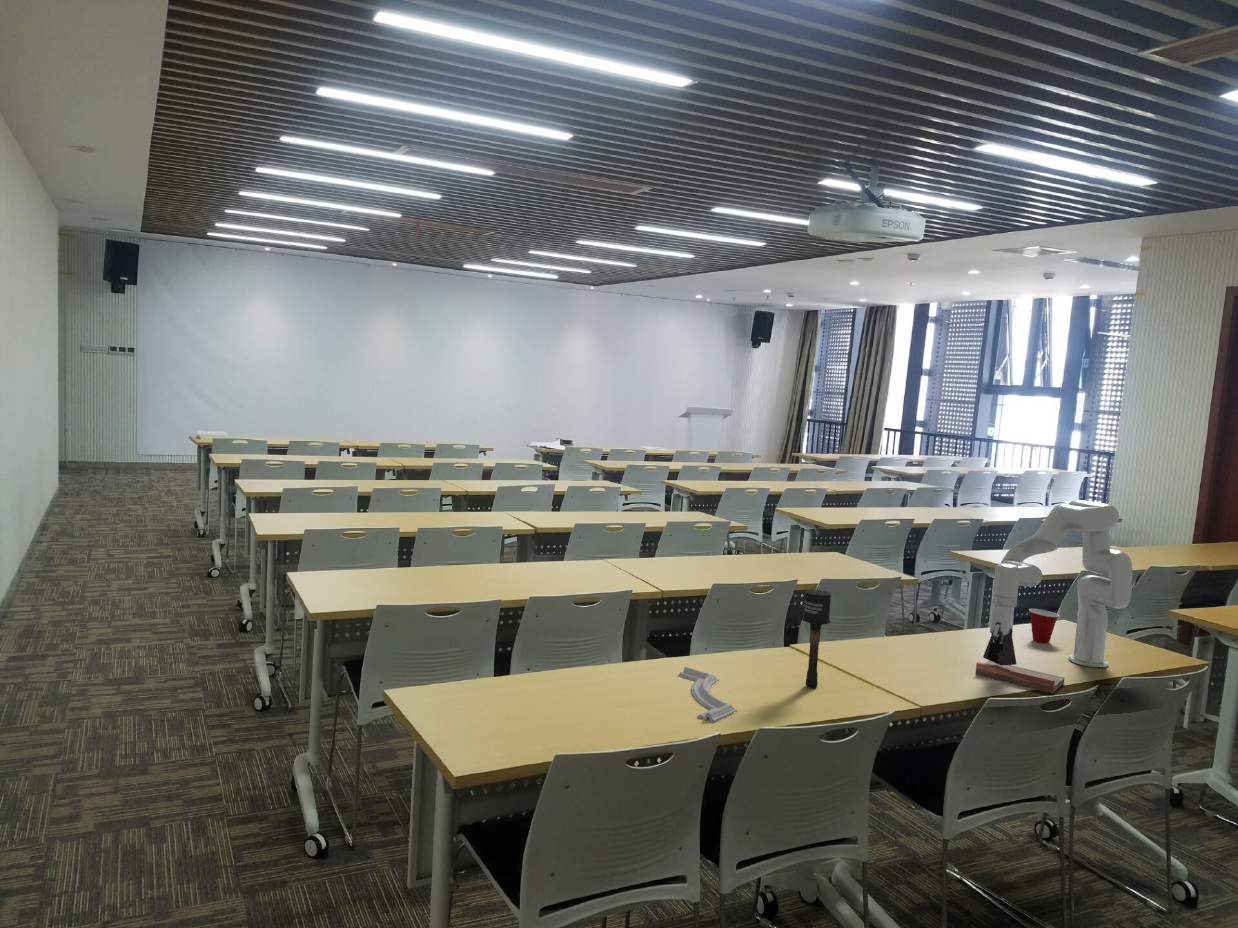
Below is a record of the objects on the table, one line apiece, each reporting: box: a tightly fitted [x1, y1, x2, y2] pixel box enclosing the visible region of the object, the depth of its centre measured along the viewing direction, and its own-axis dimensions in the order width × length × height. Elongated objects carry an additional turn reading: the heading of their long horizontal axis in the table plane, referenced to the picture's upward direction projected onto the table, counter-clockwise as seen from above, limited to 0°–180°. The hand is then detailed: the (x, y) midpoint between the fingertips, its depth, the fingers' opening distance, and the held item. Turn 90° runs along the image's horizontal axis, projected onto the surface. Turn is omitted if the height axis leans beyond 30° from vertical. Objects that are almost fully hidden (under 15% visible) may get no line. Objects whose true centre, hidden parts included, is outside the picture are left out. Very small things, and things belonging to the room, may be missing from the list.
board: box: [975, 660, 1065, 694], centre depth 288 cm, size 14×24×4 cm, turn 50°
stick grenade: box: [801, 589, 832, 689], centre depth 268 cm, size 8×9×30 cm
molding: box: [678, 666, 738, 724], centre depth 257 cm, size 42×12×3 cm, turn 5°
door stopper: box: [982, 628, 1017, 666], centre depth 293 cm, size 9×6×12 cm, turn 17°
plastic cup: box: [1028, 608, 1060, 644], centre depth 337 cm, size 11×11×12 cm
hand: (1000, 652), depth 293 cm, fingers closed on door stopper, 5 cm apart
